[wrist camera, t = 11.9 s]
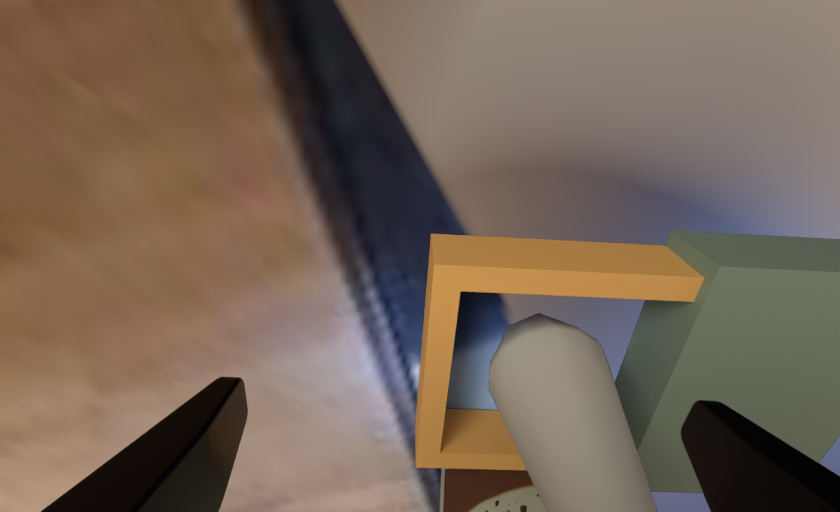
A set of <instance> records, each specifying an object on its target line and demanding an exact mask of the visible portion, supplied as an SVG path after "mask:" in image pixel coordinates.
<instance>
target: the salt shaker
mask: <svg viewBox="0 0 840 512" xmlns="http://www.w3.org/2000/svg"><path fill="white" fill-rule="evenodd" d="M489 391H490V393H491V395H492V397H493V400H494V402H495V404H496V406H497V408H498V410H499V412H500V414H501V417H502V419H503V421H504V423H505V425H506V427H507V429H508V431H509V433H510V436H511V438H512V440H513V442H514V444H515V446H516V448H517V450H518V452H519V455H520V457H521V459H522V461H523V463H524V465H525V467H526V469H527V472H528V474H529V476H530V478H531V480H532V482H533V484H534V486H535V488H536V491H537V493H538V495H539V497H540V499H541V501H542V503H543V505H544V508H545V510H546V512H657V509H656V506H655V503H654V500H653V497H652V494H651V491H650V488H649V485H648V482H647V479H646V476H645V473H644V470H643V467H642V464H641V461H640V458H639V456H638V453H637V450H636V447H635V444H634V441H633V438H632V435H631V432H630V429H629V426H628V423H627V420H626V417H625V414H624V411H623V408H622V405H621V402H620V398H619V395H618V392H617V389H616V386H615V382H614V379H613V376H612V373H611V369H610V366H609V363H608V361H607V358H606V356H605V353H604V351H603V348H602V346H601V345H600V344H599V342H598V341H597V340H596V339H594V338H593V337H591V336H590V335H588V334H586V333H585V332H584V331H582V330H580V329H579V328H577V327H575V326H572V325H569V324H567V323H564V322H562V321H559V320H556V319H553V318H550V317H548V316H545V315H543V314H540V313H538V314H535V315H533V316H531V317H528V318H526V319H523V320H521V321H519V322H516V323H514V324H512V325H509V326H507V327H506V329H505V332H504V335H503V338H502V340H501V342H500V344H499V346H498V348H497V350H496V352H495V354H494V356H493V358H492V360H491V361H490V370H489Z"/></svg>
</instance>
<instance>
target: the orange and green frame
mask: <svg viewBox="0 0 840 512" xmlns="http://www.w3.org/2000/svg"><path fill="white" fill-rule="evenodd" d="M461 291H464V292H487V293H509V294H531V295H553V296H575V297H597V298H619V299H641V300H643V299H644V300H645V303H644V305H643V308H642V311H641V313H640V316H639V319H638V321H637V324H636V327H635V330H634V332H633V335H632V338H631V341H630V343H629V346H628V349H627V351H626V354H625V357H624V359H623V362H622V365H621V367H620V370H619V373H618V376H617V378H616V381H615V386H616V389H617V392H618V395H619V398H620V402H621V405H622V408H623V411H624V414H625V417H626V420H627V423H628V426H629V429H630V432H631V435H632V438H633V441H634V444H635V447H636V450H637V453H638V456H639V458H640V461H641V464H642V467H643V470H644V473H645V476H646V479H647V482H648V485H649V488H650V491H651V492H689V493H690V492H691V493H703V491H702V489H701V486H700V484H699V481H698V479H697V477H696V474H695V472H694V469H693V467H692V464H691V462H690V459H689V457H688V454H687V452H686V450H685V447H684V445H683V442H682V439H681V427H682V425H683V423H684V421H685V419H686V417H687V415H688V413H689V411H690V409H691V407H692V405H693V404H694V403H695V402H696V401H697V400H714V401H719V402H721V403H723V404H725V405H727V406H728V407H730V408H731V409H733V410H735V411H736V412H738V413H739V414H741V415H742V416H744V417H746V418H747V419H749V420H750V421H752V422H754V423H755V424H757V425H758V426H760V427H762V428H763V429H765V430H766V431H768V432H770V433H771V434H773V435H774V436H776V437H778V438H779V439H781V440H782V441H784V442H786V443H787V444H789V445H790V446H792V447H794V448H795V449H797V450H798V451H800V452H802V453H803V454H805V455H806V456H808V457H810V458H811V459H813V460H814V461H816V462H818V463H820V461H821V460H822V459H823V457H824V456H825V455H826V453H827V452H828V451H829V449H830V448H831V447H832V446H833V444H834V443H835V442H836V440H837V439H838V438H839V436H840V239H823V238H806V237H786V236H768V235H747V234H729V233H710V232H692V231H673V230H672V231H671V232H670V235H669V238H668V240H667V243H666V246H660V245H641V244H622V243H602V242H583V241H563V240H544V239H523V238H505V237H504V238H503V237H485V236H466V235H446V234H431V241H430V253H429V265H428V277H427V289H426V301H425V313H424V325H423V337H422V349H421V361H420V373H419V385H418V397H417V409H416V421H415V435H416V468H453V469H491V470H527V469H526V467H525V465H524V463H523V461H522V459H521V457H520V455H519V452H518V450H517V448H516V446H515V444H514V442H513V440H512V438H511V436H510V433H509V431H508V429H507V427H506V425H505V423H504V421H503V419H502V417H501V414H500V412H499V410H472V409H446V402H447V394H448V387H449V379H450V371H451V363H452V355H453V347H454V339H455V332H456V324H457V316H458V308H459V300H460V292H461Z"/></svg>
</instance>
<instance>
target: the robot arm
mask: <svg viewBox="0 0 840 512" xmlns="http://www.w3.org/2000/svg"><path fill="white" fill-rule="evenodd" d="M247 414H248V408H247V400H246V393H245V386H244V382H243V380H242V379H241V378H238V377H220V378H218V379H216V380H215V381H213V382H212V383H211V384H209V385H208V386H207V387H205V388H204V389H203V390H201V391H200V392H199V393H197V394H196V395H195V396H193V397H192V398H191V399H189V400H188V401H187V402H185V403H184V404H183V405H181V406H180V407H179V408H178V409H176V410H175V411H174V412H172V413H171V414H170V415H168V416H167V417H166V418H164V419H163V420H162V421H160V422H159V423H158V424H156V425H155V426H154V427H152V428H151V429H150V430H148V431H147V432H146V433H144V434H143V435H142V436H140V437H139V438H138V439H136V440H135V441H134V442H132V443H131V444H130V445H128V446H127V447H126V448H124V449H123V450H122V451H120V452H119V453H118V454H116V455H115V456H114V457H112V458H111V459H110V460H109V461H107V462H106V463H105V464H103V465H102V466H101V467H99V468H98V469H97V470H95V471H94V472H93V473H91V474H90V475H89V476H87V477H86V478H85V479H83V480H82V481H81V482H79V483H78V484H77V485H75V486H74V487H73V488H71V489H70V490H69V491H67V492H66V493H65V494H63V495H62V496H61V497H59V498H58V499H57V500H55V501H54V502H53V503H51V504H50V505H49V506H47V507H46V508H45V509H43V510H42V511H41V512H218V511H219V509H220V506H221V504H222V501H223V498H224V494H225V491H226V488H227V485H228V481H229V478H230V475H231V471H232V468H233V464H234V461H235V458H236V454H237V451H238V448H239V444H240V441H241V437H242V434H243V431H244V427H245V424H246V420H247ZM681 439H682V442H683V445H684V447H685V450H686V452H687V454H688V457H689V459H690V462H691V464H692V467H693V469H694V472H695V474H696V477H697V479H698V481H699V484H700V486H701V489H702V491H703V494H704V496H705V499H706V501H707V503H708V506H709V508H710V510H711V512H840V476H838V475H837V474H835V473H834V472H832V471H830V470H828V469H827V468H826V467H824V466H822V465H821V464H819V463H818V462H816V461H814V460H813V459H811V458H810V457H808V456H806V455H805V454H803V453H802V452H800V451H798V450H797V449H795V448H794V447H792V446H790V445H789V444H787V443H786V442H784V441H782V440H781V439H779V438H778V437H776V436H774V435H773V434H771V433H770V432H768V431H766V430H765V429H763V428H762V427H760V426H758V425H757V424H755V423H754V422H752V421H750V420H749V419H747V418H746V417H744V416H742V415H741V414H739V413H738V412H736V411H735V410H733V409H731V408H730V407H728V406H727V405H725V404H723V403H721V402H719V401H714V400H697V401H696V402H695V403H694V404H693V405H692V407H691V409H690V411H689V413H688V415H687V417H686V419H685V421H684V423H683V425H682V427H681Z"/></svg>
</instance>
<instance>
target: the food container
mask: <svg viewBox="0 0 840 512" xmlns="http://www.w3.org/2000/svg"><path fill="white" fill-rule="evenodd" d="M440 512H546V510H545V508H544V505H543V503H542V501H541V499H540V497H539V495H538V493H537V491H536V488H535V486H534V484H533V482H532V480H531V478H530V476H529V474H528V472H527V470H491V469H453V468H441V489H440Z"/></svg>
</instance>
